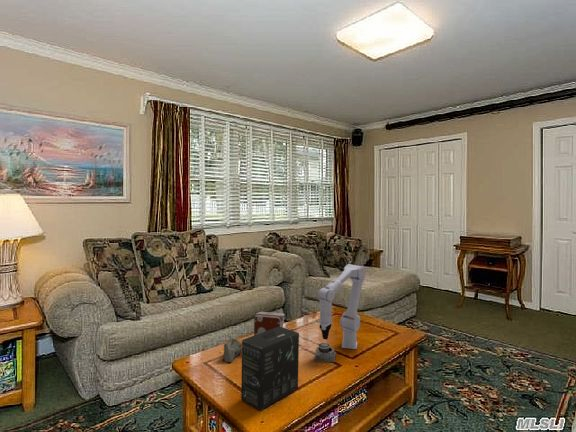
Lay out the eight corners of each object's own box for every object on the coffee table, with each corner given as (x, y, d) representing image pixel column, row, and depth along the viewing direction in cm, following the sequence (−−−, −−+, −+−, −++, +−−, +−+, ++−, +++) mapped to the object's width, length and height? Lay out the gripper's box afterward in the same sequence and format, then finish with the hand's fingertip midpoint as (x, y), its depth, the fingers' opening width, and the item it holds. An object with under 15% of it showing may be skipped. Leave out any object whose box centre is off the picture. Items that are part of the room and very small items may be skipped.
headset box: (278, 378, 155) (279, 320, 154) (299, 388, 147) (300, 327, 146) (239, 399, 138) (240, 335, 137) (261, 412, 130) (261, 344, 129)
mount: (316, 351, 182) (316, 344, 182) (336, 353, 180) (336, 346, 180) (313, 360, 173) (313, 352, 173) (333, 362, 170) (333, 354, 170)
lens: (320, 352, 180) (320, 342, 180) (330, 353, 178) (330, 343, 178) (317, 356, 175) (317, 346, 175) (327, 357, 173) (327, 347, 173)
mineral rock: (239, 350, 183) (239, 331, 183) (250, 357, 175) (250, 338, 174) (217, 356, 176) (217, 336, 175) (226, 364, 167) (226, 344, 167)
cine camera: (289, 357, 176) (290, 318, 175) (252, 353, 179) (252, 315, 178) (293, 349, 185) (293, 312, 184) (257, 346, 188) (258, 309, 187)
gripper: (320, 307, 183) (319, 332, 184) (315, 316, 169) (315, 343, 170) (333, 308, 182) (333, 334, 182) (330, 317, 168) (329, 345, 168)
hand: (325, 338), depth 176 cm, fingers closed
